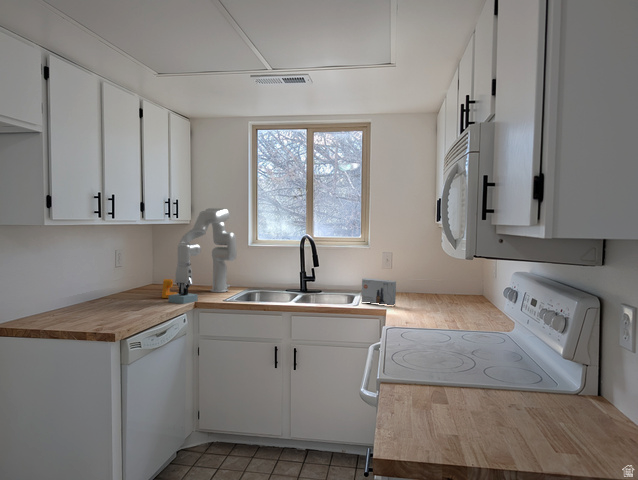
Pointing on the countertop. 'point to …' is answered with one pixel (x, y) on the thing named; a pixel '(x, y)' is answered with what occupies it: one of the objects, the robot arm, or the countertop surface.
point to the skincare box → (378, 291)
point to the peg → (182, 289)
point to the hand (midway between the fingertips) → (183, 294)
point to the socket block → (183, 298)
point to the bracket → (167, 288)
